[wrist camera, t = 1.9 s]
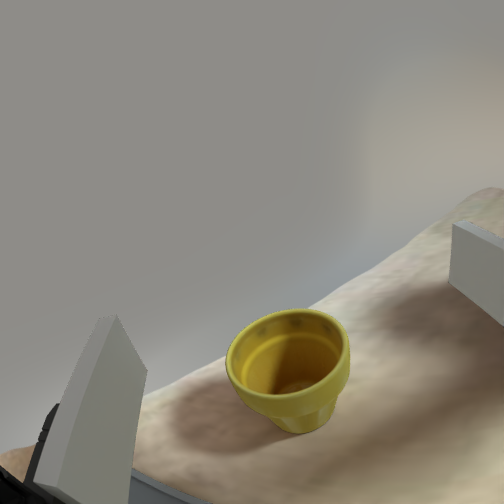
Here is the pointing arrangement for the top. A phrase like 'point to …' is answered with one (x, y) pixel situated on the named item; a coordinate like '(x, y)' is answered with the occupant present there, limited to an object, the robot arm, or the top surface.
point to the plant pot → (291, 367)
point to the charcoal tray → (156, 492)
